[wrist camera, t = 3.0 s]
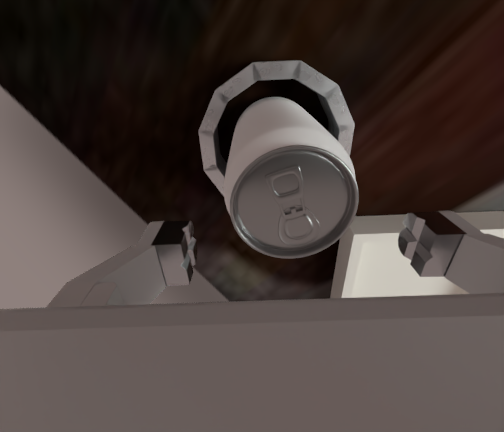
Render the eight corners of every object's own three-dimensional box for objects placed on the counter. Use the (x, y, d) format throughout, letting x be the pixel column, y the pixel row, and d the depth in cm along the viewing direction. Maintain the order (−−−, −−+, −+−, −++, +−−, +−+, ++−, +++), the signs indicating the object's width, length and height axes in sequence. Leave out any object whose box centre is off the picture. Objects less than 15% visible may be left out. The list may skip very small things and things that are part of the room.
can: (248, 183, 24) (247, 278, 13) (222, 111, 21) (194, 164, 10) (318, 161, 23) (375, 246, 12) (302, 82, 20) (360, 109, 9)
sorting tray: (343, 216, 26) (354, 234, 23) (507, 210, 25) (536, 227, 23) (326, 321, 34) (332, 342, 31) (449, 317, 34) (466, 338, 31)
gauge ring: (196, 64, 19) (188, 65, 16) (349, 57, 19) (365, 57, 16) (214, 199, 25) (210, 215, 22) (331, 194, 24) (341, 210, 22)
